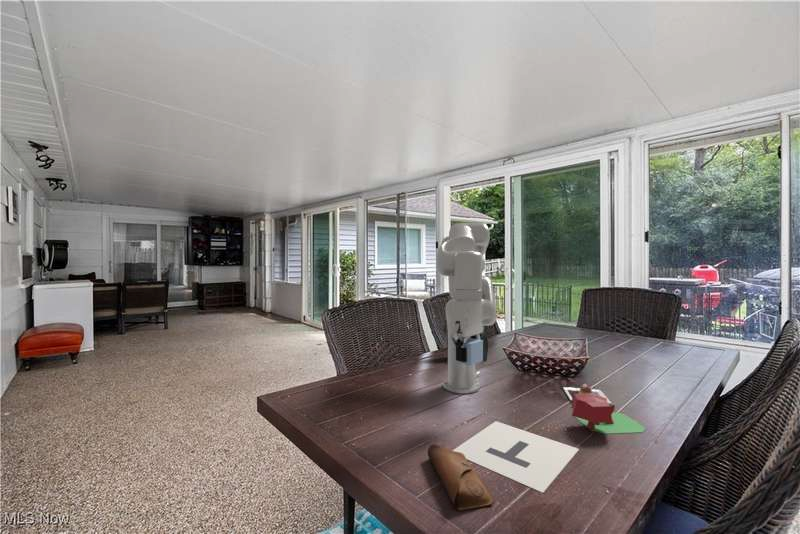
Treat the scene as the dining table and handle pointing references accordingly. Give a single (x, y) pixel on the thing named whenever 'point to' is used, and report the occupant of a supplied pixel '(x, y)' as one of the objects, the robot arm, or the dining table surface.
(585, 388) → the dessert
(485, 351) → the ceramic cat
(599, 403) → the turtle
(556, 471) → the letter mat
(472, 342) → the blue cube
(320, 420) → the dining table surface
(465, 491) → the sunglasses case
